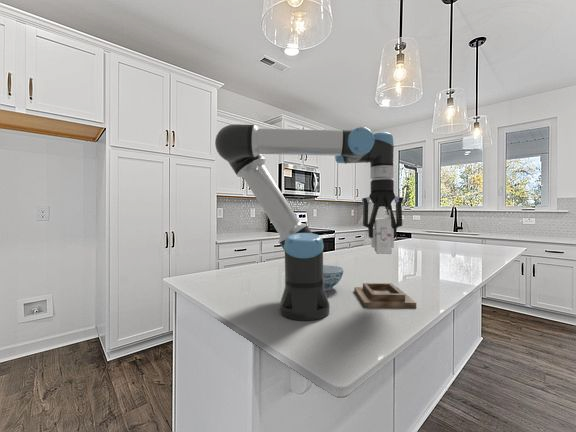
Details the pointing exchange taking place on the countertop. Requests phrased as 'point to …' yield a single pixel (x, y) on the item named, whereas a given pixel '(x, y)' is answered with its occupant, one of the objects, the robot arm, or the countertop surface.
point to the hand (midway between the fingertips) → (382, 247)
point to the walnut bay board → (383, 296)
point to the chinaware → (331, 276)
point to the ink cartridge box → (383, 235)
